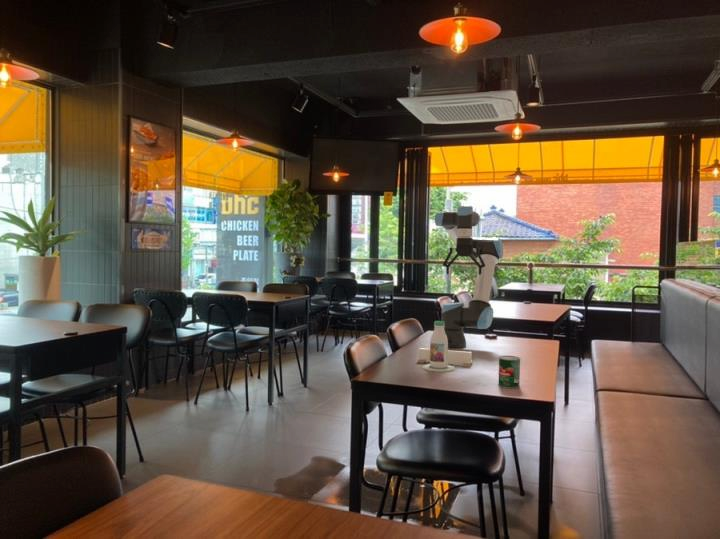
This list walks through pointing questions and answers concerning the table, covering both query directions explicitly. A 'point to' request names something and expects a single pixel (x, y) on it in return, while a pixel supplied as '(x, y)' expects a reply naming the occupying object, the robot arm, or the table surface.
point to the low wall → (453, 357)
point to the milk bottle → (439, 346)
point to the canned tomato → (509, 371)
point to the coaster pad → (447, 369)
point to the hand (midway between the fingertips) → (463, 281)
